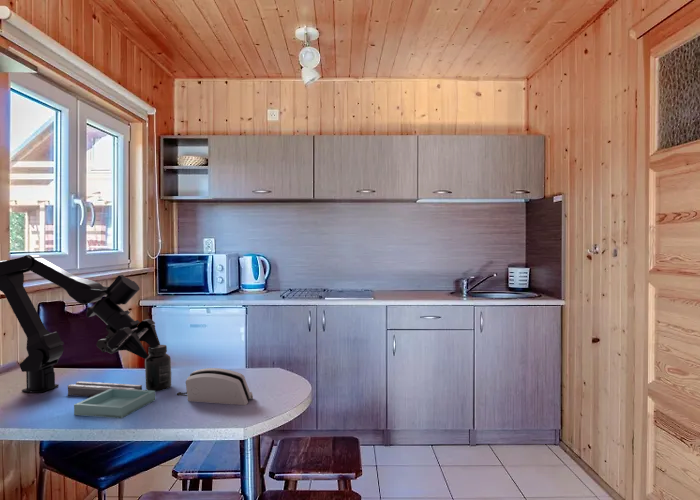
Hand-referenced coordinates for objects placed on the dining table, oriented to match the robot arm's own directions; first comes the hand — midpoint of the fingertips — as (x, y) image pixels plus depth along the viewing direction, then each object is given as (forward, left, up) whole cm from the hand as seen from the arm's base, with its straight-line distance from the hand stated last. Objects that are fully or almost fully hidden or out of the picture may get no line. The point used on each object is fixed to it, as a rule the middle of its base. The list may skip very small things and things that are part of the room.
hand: (153, 353), depth 132 cm
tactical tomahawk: (+13, +6, -11) cm, 18 cm away
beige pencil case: (+24, -7, -10) cm, 27 cm away
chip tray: (0, -16, -10) cm, 19 cm away
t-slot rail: (-10, -8, -10) cm, 16 cm away
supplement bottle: (+1, 0, -10) cm, 10 cm away
